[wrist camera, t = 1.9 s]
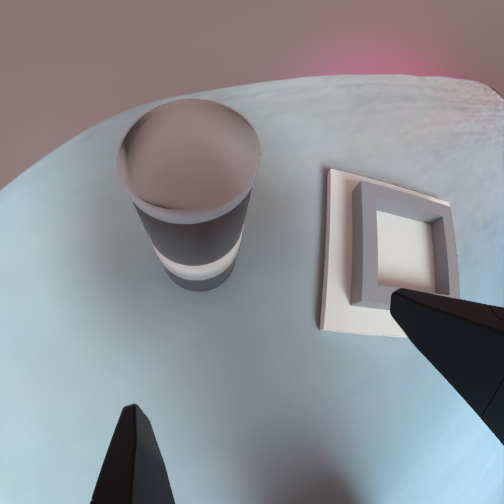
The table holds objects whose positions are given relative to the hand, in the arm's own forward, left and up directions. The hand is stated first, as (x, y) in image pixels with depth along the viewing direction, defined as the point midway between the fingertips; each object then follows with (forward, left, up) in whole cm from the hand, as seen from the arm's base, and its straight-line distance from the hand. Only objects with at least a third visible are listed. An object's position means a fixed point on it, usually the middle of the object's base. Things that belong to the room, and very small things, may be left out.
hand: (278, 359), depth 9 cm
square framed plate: (-9, -13, -13) cm, 21 cm away
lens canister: (+6, -5, -13) cm, 16 cm away
